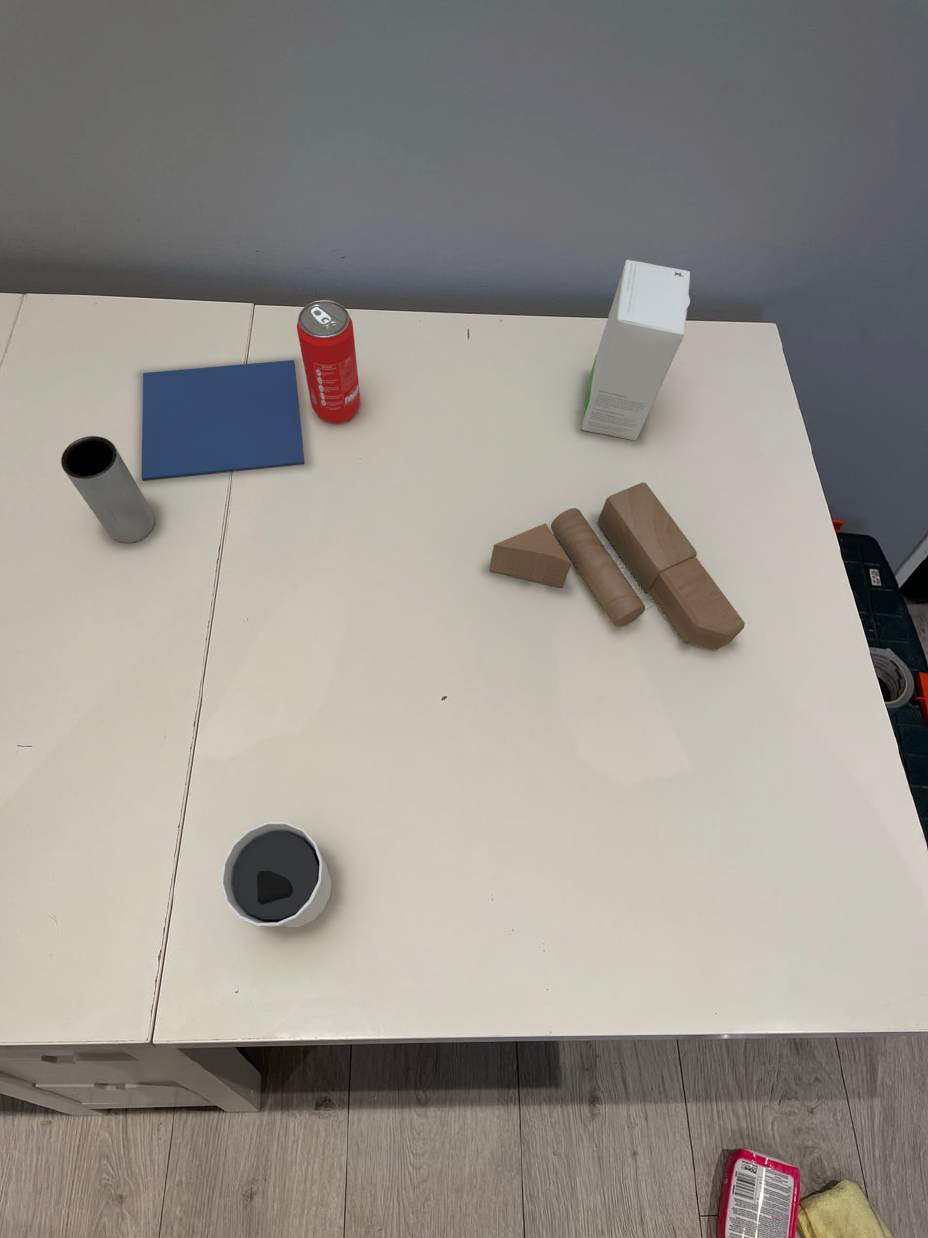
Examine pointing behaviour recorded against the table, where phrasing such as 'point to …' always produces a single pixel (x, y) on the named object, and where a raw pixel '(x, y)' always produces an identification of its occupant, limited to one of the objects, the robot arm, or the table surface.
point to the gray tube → (108, 488)
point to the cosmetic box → (636, 348)
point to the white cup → (275, 876)
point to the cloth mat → (220, 420)
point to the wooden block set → (647, 552)
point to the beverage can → (329, 360)
